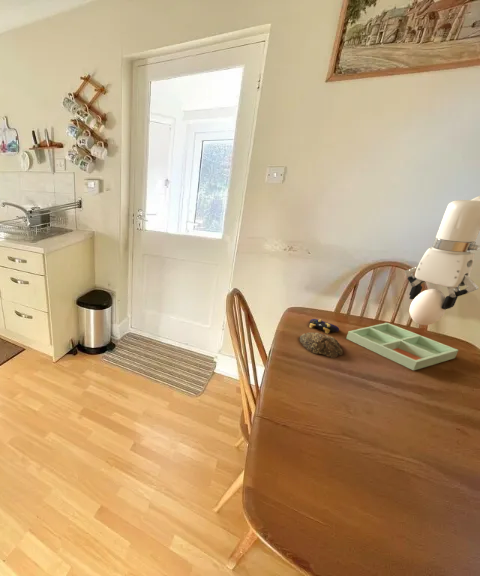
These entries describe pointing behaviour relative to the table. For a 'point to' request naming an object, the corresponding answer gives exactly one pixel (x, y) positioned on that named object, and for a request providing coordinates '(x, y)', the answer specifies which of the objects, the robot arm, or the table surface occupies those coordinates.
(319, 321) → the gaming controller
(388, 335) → the divided tray
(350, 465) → the table surface
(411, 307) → the egg
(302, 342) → the brown rock
